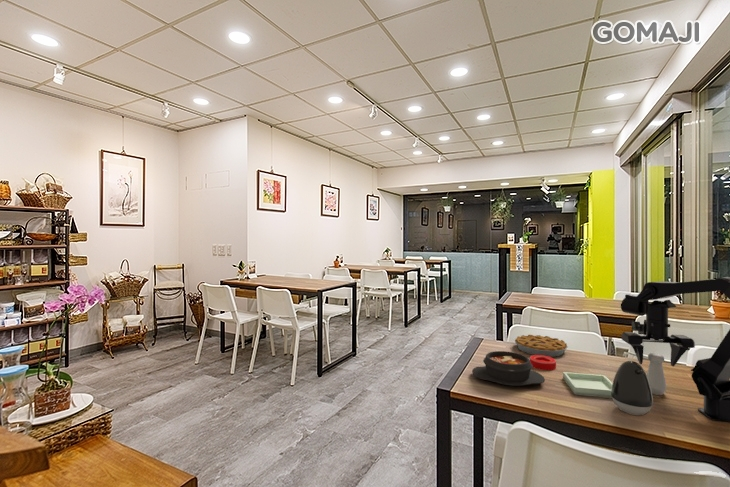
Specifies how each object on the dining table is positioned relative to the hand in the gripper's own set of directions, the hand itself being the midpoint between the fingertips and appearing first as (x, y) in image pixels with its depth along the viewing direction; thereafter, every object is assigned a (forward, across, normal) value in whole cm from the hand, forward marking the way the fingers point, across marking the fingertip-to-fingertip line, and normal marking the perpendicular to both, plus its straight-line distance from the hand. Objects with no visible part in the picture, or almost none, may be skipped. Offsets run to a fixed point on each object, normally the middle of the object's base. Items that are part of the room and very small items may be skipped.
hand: (656, 364), depth 120 cm
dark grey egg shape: (+10, +14, +16) cm, 23 cm away
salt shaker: (+10, 0, 0) cm, 10 cm away
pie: (+10, +27, -40) cm, 49 cm away
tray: (+9, +20, +1) cm, 22 cm away
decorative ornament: (+10, +31, -18) cm, 37 cm away
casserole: (+10, +47, 0) cm, 48 cm away
